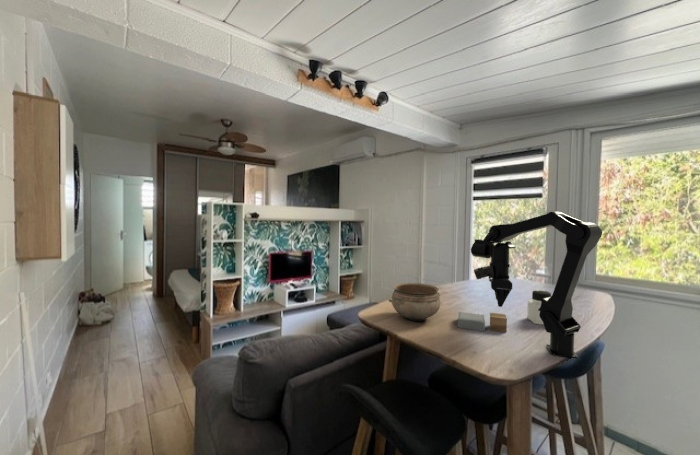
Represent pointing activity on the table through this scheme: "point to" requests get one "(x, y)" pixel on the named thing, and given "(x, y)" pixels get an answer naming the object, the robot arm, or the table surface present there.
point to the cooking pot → (415, 300)
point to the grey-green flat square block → (471, 321)
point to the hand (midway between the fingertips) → (498, 303)
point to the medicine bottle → (536, 306)
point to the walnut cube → (498, 322)
